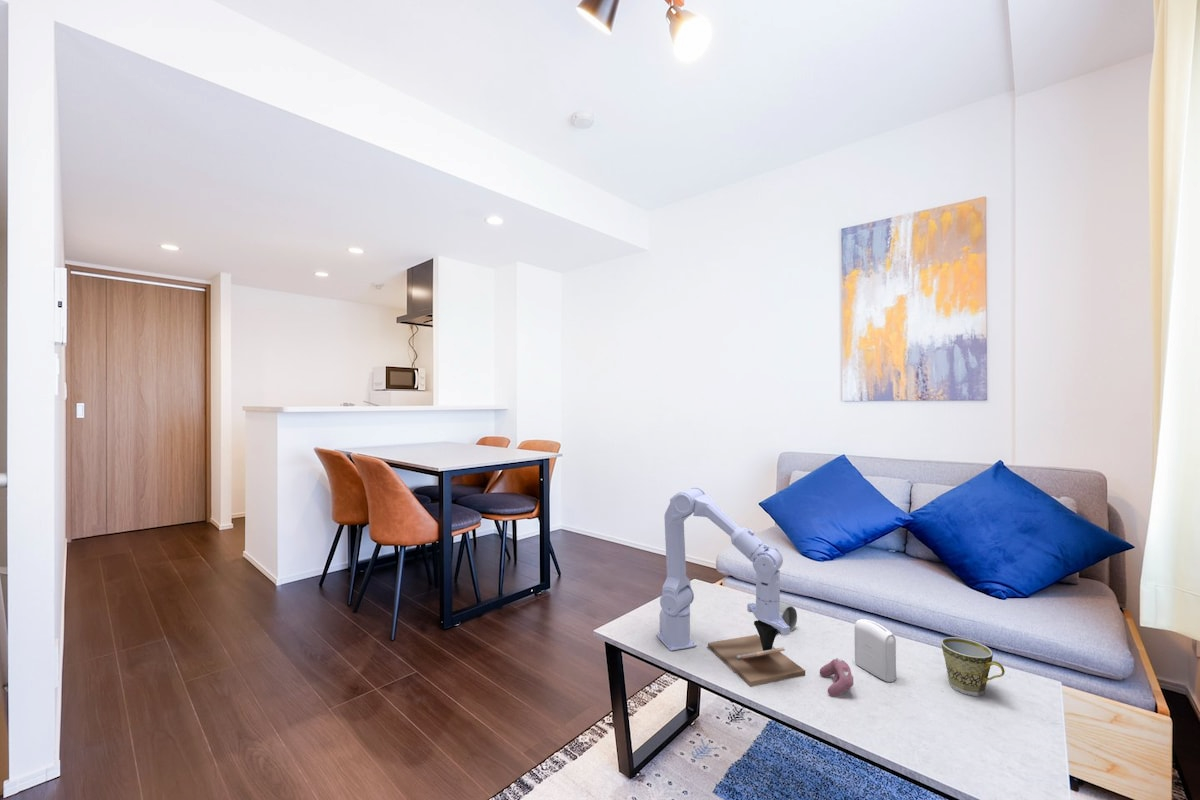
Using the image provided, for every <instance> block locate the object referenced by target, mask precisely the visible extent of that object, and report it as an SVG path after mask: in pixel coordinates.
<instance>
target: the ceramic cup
mask: <svg viewBox="0 0 1200 800" xmlns="http://www.w3.org/2000/svg"><path fill="white" fill-rule="evenodd" d="M941 649H942V653H943V658H944V661H945V668H946V672H947V678H948V682H949V685H950V686H951V688H952V689H953V688H954V689H953V690H955V689H956V690H955V691H957V690H958V691H957V692H959V691H960V692H959V693H961V692H962V693H961V694H963V693H964V694H963V695H966V694H968V695H967V696H971V695H973V696H972V697H976V696H978V697H980V695H981V696H983V695H984V694H985V690H986V686H987V682H988V681H991V680H993V679H995V678H1001V677H1003V676H1004V675H1005V673H1006V671H1005V669H1004V666H1003V665H1002V664H1001V663H1000V662H997V661H993V655H994V653H993V651H992V650H991V649H990V648H989V647H988V646H987V645H984V644H982V643H981V642H977V641H974V640H971V639H969V638H963V637H956V636H951V637H950V636H949V637H944V638H943V639H941ZM991 666H997V667H998V668H1000V670H1001V674H1000V673H999V674H997V675H993V676H991V677H989V675H990V674H989V673H990V669H991ZM982 694H983V695H982Z"/></svg>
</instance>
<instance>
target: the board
mask: <svg viewBox="0 0 1200 800" xmlns="http://www.w3.org/2000/svg"><path fill="white" fill-rule="evenodd" d="M707 648H708V649H709V650H710V651H711V652H712V653H713V654H715V656H717V657H718V658H719V659H720V660H721V661H722V662H723V663H724V664H725V665H726V666H728V668H730V670H732V671H733V672H734V673H735V674H736V675H737V676H738V677H740V679H742V680H743V682H745V683H746V684H747V685H748V686H749V687H755V686H760V685H765V684H770V683H775V682H781V681H784V680H790V679H794V678H799V677H805V676H806V670H805V669H804V668H802V667H801V666H800V665H798V663H796V662H795V661H793V660H792V659H790V658H789V657H788V656H786V655H785V654H784V653H782V651H780V652H775V653H769V654H764V655H758V656H753V657H747V658H741V659H737V656H738V655H744V654H749V653H754V652H760V651H763V649H762V644H761V640H760V636H759V634H753V635H746V636H742V637H735V638H729V639H724V640H717V641H713V642H708V643H707ZM772 649H776V647H775V646H774V645H773V646H772ZM741 657H742V656H741Z"/></svg>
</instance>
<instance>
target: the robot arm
mask: <svg viewBox="0 0 1200 800" xmlns="http://www.w3.org/2000/svg"><path fill="white" fill-rule="evenodd" d="M692 514H693V515H692ZM691 515H692V516H693V517H703V518H707V519H708V520H709V521H711V522H712V523H713V524H714V525H716V526H717V527H718V528H719V529H721V530H722V531H723V532H724V533H725V534H727V535H728V536H729V537H730V541H731V545H733V546H734V547H735V548H736V549H737V550H738V551H739V552H740V553H741V554H743V556H745V557H746V558H747V559H748V560H749V561H750V562H752V567H753V569H754V571H755V574H756V576H755V577H756V578H755V588H756V589H755V603H754V602H752V603H747V606H746V607H747V608H746V609H747V610H746V611H747V612H748V613H752V614H753V616H754V618H755V619H757V620H754V621H753V625H754V626H755V628H756V630H757V633H758V636H759V637H760V640H761V644H762V649H763V651H765V650H771V649H772V646H773V647H774V642H775V640H776V637H777V635H778V634H779V632H780V635H781V636H789V635H790V634H791V632H790V627H789V626H788V625H787V624H786V623H785V622H784V620H783V619H782V618H781V617H782V616H783V614H782V613H780V603H781V600H780V598H781V597H780V596H781V592H780V588H781V583H780V582H781V580H780V573H781V572H780V568H781V567H782V565H783V563H784V558H783V556H782V553H780V551H779V549H777V548H776V547H774V546H773V547H772V546H770V545H769V544H768V543H764V542H763V541H762V540H761V539H760V538H759V537H758V536H757V535H756V534H755V530H753V529H752V528H750V529H748V528H747V527H743V526H741V527H740V526H739V525H738V524H737V523H736V522H735V521H734V520H733V519H732V518H731V517H729V515H727V514H726V513H725V512H724V511H723V510H722V508H720V507H719V505H717V503H716V502H715V501H714V500H713V499H712V497H711V495H709V494H707V493H705V491H704V490H703V489H702V488H700V487H691V488H690V489H687V490H684V491H680V492H677V493H676V494H674V495H673V496H672V497H671V498H670V499H669V505H668V507H667V508H666V510H665V513H664V536H665V538H664V540H665V541H664V542H665V558H666V559H665V562H666V563H665V564H666V578H665V579H666V580H665V581H664V583H663V585H662V592H661V596H660V598H659V603H660V607H661V609H660V612H659V633H656V637H657V638H658V639H659V640H660V641H661V642H662V643H663V644H664V645H665V647H667V649H668V650H669V651H671V652H672V651H678V650H682V649H683V650H684V649H690V648H696V643H695V642H694V641H693V640H692V639H691V607H690V606H691V604H692V603H693V602H694V599H695V594H694V591H693V588H692V585H691V579H690V578H689V577H687V565H686V563H687V562H686V543H685V541H686V540H685V521H686V520H687V519H688V518H689V517H690V516H691Z"/></svg>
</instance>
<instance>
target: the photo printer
mask: <svg viewBox="0 0 1200 800" xmlns="http://www.w3.org/2000/svg"><path fill="white" fill-rule="evenodd" d="M854 662H855V665H857V666H858V667H860V668H862V669H863V670H865V671H866V672H868V673H869V674H871V675H872V676H873V675H874V676H875V677H877V678H879V679H880V680H882V681H884V682H887V683H891V682H894V681H895V680H896V678H897V639H896V636H895V635H894V634H893V633H892V632H891V631H890V630H889V629H887V628H886V627H885V626H883V625H882V624H880V623H878V622H877V621H876V622H875V621H873V620H870V619H864V618H861V619H857V621H856V622H855V624H854Z"/></svg>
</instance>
